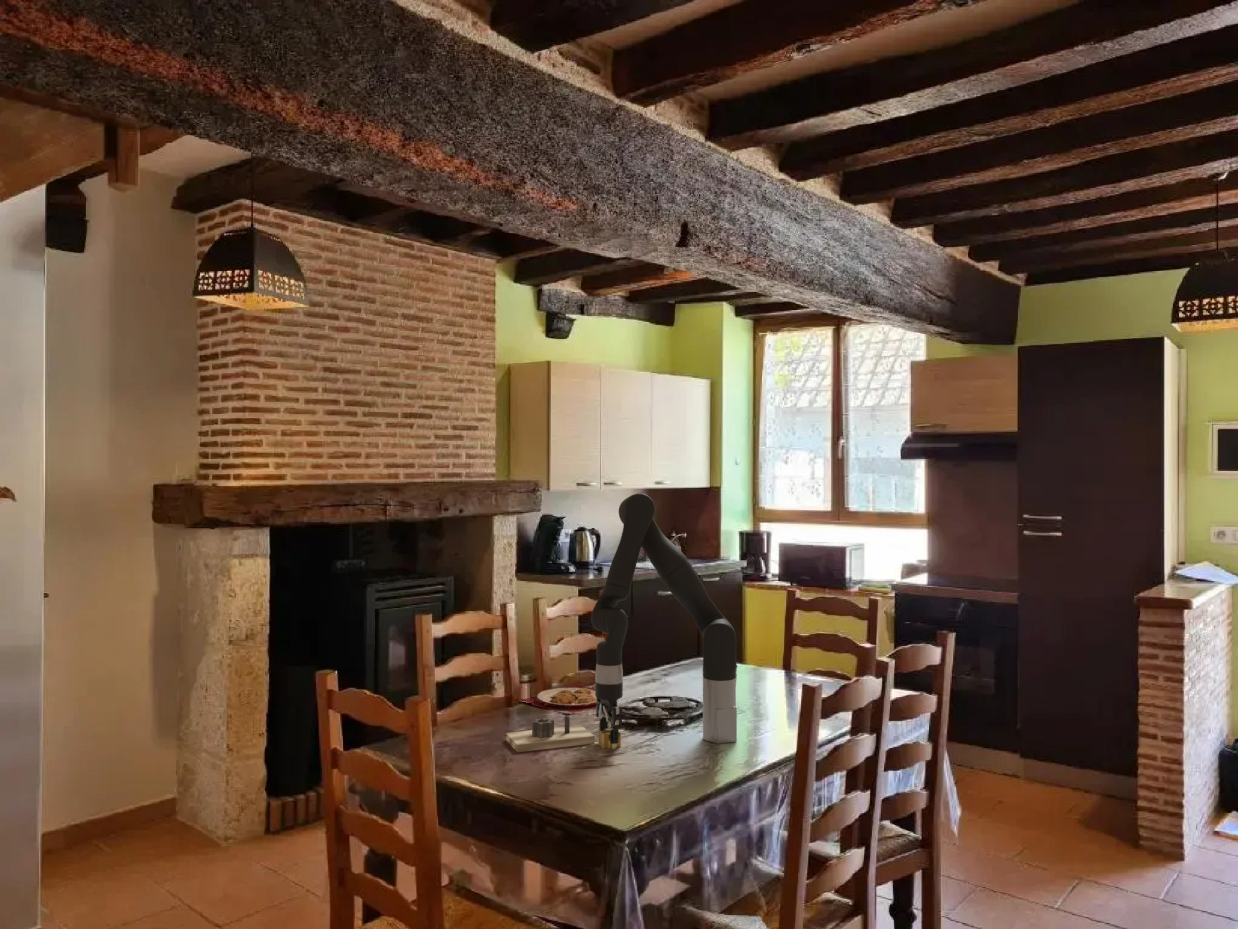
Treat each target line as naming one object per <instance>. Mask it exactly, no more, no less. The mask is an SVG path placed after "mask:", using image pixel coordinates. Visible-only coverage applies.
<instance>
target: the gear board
mask: <svg viewBox="0 0 1238 929" xmlns="http://www.w3.org/2000/svg"><path fill="white" fill-rule="evenodd" d="M570 719H571V717H570V715H564V726H558V727H557V726H555V720H554V719H550V718H548V717H544V718H534V719H533V721H531V729H530V730H522V731H520V730H519V731H514V732H512V731H511V732H506V733H505V738H506V739H505V740H506V742H507V743H508V744H509V745H510V746H511V747H512V748H513V750H515V751H516V753H524V752H531V751H534V752H535V751H539V750H540V751H541V750H549V749H558V748H566V747H567V748H568V747H575V746H584V745H592V744H596V742H595V739H596V738H595V737H596V736H595V735H594V734H593V733H592V732H590V731H589V730H587V729H586V728H585V727H584V726H583V725H582V724H576V725H570V724H571V723H570V722H571V721H570Z"/></svg>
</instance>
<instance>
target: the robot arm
mask: <svg viewBox="0 0 1238 929" xmlns="http://www.w3.org/2000/svg"><path fill="white" fill-rule="evenodd" d="M618 507H619V508H618V516H619V519H620V521H621V523H622V525H623V526H622V532H621V536H620V540H619V544H618V545H617V548H616V551H615V554H614V556H613V558H612V561H611V564H610V566H609V569H608V573H607V576H606V580H605V585H604V589H603V590H602V592H601V593H600V595H599V598H598V599H597V601H596V603H595V605H594V607H593V609H592V611H591V616H590V621H591V626H592V627H593V629H594V630H596V631H597V632H602V633H606V634H607V637H606V640H603V641H599V642H598V643H597V645H596V656H595V657H596V658H595V659H596V662H595V664H596V666H595V673H594V674H595V680H594V681H595V685H594V686H595V688H594V689H595V696H596V697H597V703H596V706H595V710H596V712H595V716H596V718H597V720H598V722H599V724H598V725H599V730H598V732H599V731H603V730H604V729H607V728H608V729H610V743H611V744H617V743H618V734H619V731H620V730H622V729H623V707H622V706H621V705H620V706H619V705H618V702H617V701H618V700H620V699H621V698H622V697H623V694H624V692H623V690H624V688H623V687H624V685H623V684H624V675H623V674H624V673H623V672H624V670H623V660H622V659H623V646H624V643H625V639H626V635H627V632H628V628H629V626H628V625H629V619H628V616H627V613H626V612H625V610H623V609H622V608H618V607H616V606H617V605H618V603H619V602H621V601H625V600H627V599H628V598H629V595H630V592H631V587H632V584H633V579H634V577H635V571H636V567H637V563H638V559H639V556H640V552H641V549H642V550H643V551H644V553H645V554H646V556H647V557H648V559H649V561H650V563H651V564H652V566H653V568H654V569H655V571H656V572H657V574H658V575H659V578H661V580H662V582H663V583H664V586H666V588H667V590H668V591H669V592H670V593H671V594H672V596H673V597H674V599H676V600H677V601H678V603H680V605H681V606H682V607H683V608H684V609H685V610H686V611H687V612H688V614H689V615H690V616H691V618H692V620H693V622H694V623H695V625H696V627H697V628H698V630H699V633H700V635H701V637H702V739H703V740H704V741H707V742H710V743H713V744H717V745H720V744H726V743H735V742H738V741H737V740H738V738H737V730H738V728H737V726H738V724H737V723H738V722H737V720H738V719H737V718H738V716H737V712H738V711H737V701H736V700H737V696H736V694H737V692H736V691H737V690H736V689H737V679H736V674H737V672H736V663H737V634H736V631H735V629H734V627H733V625H732V624H731V623H730V621H729V620H728V619H727V617H725V616H724V615H723V613H722V612H721V611H720V610H719V609H718V607H717V606H716V604H715V603H714V602H713V600H712V599H711V597H710V596H709V594H708V592H707V590H706V587H705V585H704V583H703V582H702V580H701V578H700V577H699V575H698V573H697V571H696V570H695V568H694V567H693V565H692V563H690V561H689V560H688V558H687V557H686V555H685V554H684V553H683V552H682V551H681V549H679V548H678V547H677V546H676V544H674V543H673V542H672V541H671V540H670V539H669V538H668V537H666V535H665V534H664V533H663V531H661V529H660V527H659V526H658V523H656V521H655V519H654V516H655V515H656V514H655V513H656V505H655V503H654V500H653V499H652V498H651V497H650V496H649V495H648V494H646V493H643V492H642V493H641V492H639V493H638V492H637V493H634V494H631V495H629V496H628V497H626V498H625V499H623V500H622V501H621V503H620V505H619V506H618Z"/></svg>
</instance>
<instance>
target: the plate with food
mask: <svg viewBox="0 0 1238 929" xmlns="http://www.w3.org/2000/svg"><path fill="white" fill-rule="evenodd" d="M576 682H577V684H575V685H574V686H565V687H557V688H556V687H555V688H548V689H544V690H541V691H540V692H538V693H536V694H535V695H531V696H530V697H527V698H519V701H522V702H525V703H528V704H531V705H532V706H536V707H540V708H541V709H547V710H549V711H550V710H551V711H552V710H554V711H553V713H557V711H558V714H561V710H563V711H567V712H568V713H567V712H563V714H564V715H570V713H571V715H574V714H575V713H576V712H582V711H584V710H585V711H586V710H594V709H596V703H597V697H596V696H595V688H594V687H593V686H592V687H590V686H588V687H587V686H586V687H585V686H582V684H583V682H581V681H579V680H576ZM578 684H580V685H578ZM534 700H535V701H534Z"/></svg>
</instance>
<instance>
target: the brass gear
mask: <svg viewBox="0 0 1238 929" xmlns="http://www.w3.org/2000/svg"><path fill="white" fill-rule="evenodd" d="M598 747H601V749H602V750H606V749H609V750H616V748H621V747H622V731H621V730H619V734H618V743H617V744H611V743H610V728H609V727H608V728H607V729H604V730H603V731H599V730H598Z"/></svg>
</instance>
